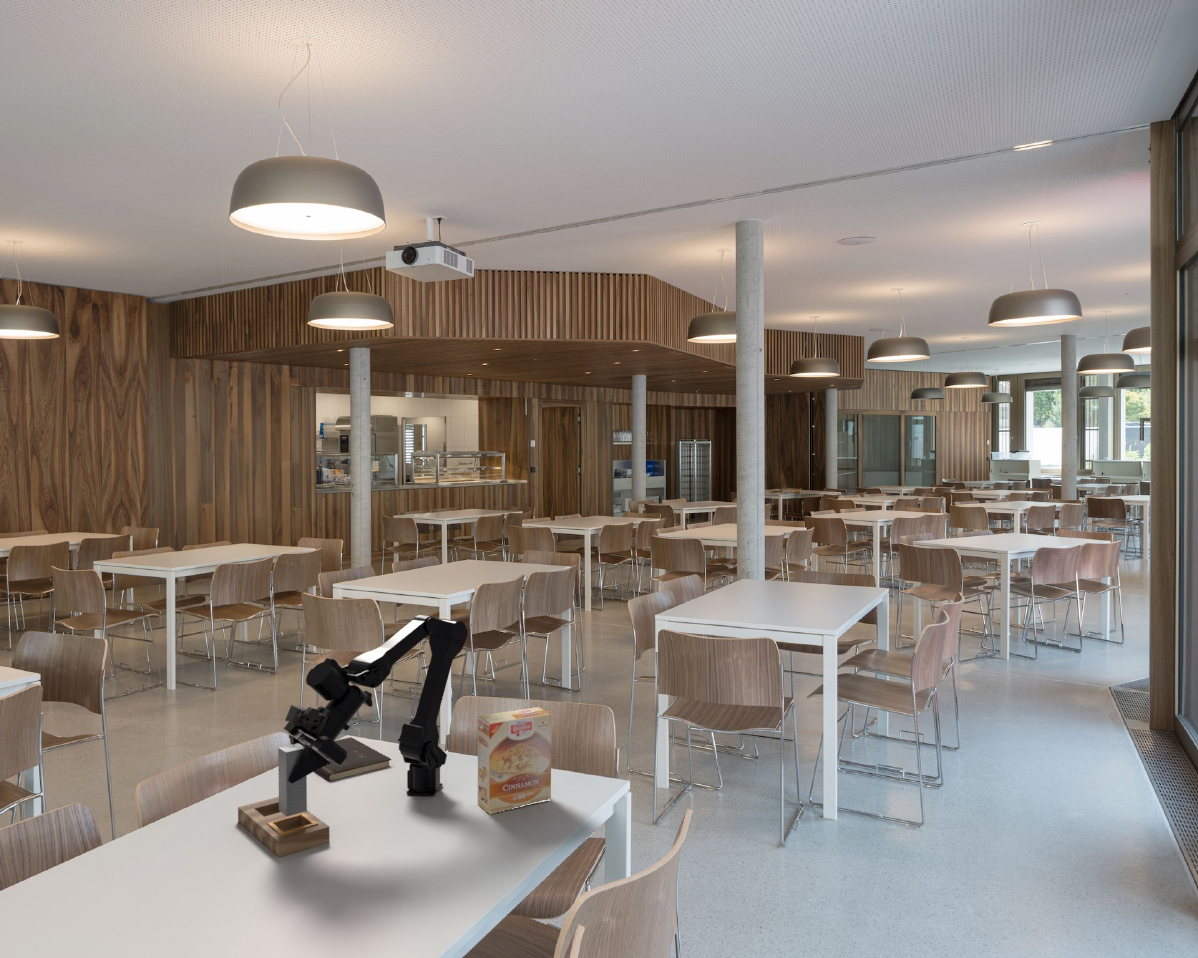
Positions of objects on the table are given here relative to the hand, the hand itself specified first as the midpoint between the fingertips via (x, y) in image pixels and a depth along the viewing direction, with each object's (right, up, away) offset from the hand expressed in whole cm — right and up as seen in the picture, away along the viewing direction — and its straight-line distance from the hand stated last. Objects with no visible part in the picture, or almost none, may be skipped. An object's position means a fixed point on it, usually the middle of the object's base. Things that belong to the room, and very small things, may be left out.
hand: (285, 779), depth 165 cm
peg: (+1, -7, +1) cm, 7 cm away
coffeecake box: (+43, -12, +19) cm, 49 cm away
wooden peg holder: (-2, -12, +5) cm, 13 cm away
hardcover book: (-3, -13, +46) cm, 48 cm away
